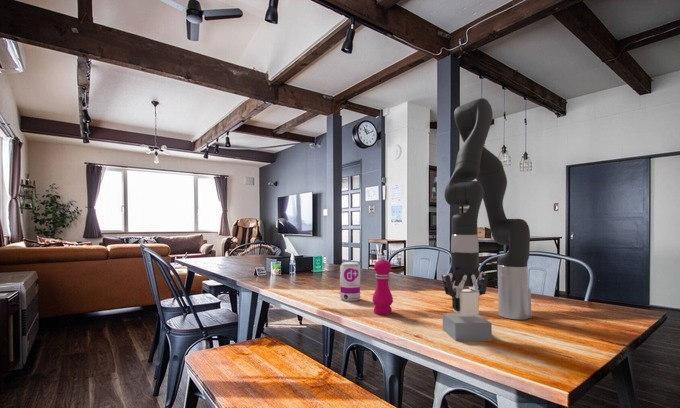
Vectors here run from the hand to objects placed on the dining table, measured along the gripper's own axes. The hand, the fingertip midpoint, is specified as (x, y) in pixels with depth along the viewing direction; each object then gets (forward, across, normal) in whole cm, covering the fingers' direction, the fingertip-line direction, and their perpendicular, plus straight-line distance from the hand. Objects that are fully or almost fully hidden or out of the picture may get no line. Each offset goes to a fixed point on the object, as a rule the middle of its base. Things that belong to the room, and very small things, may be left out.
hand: (465, 310), depth 99 cm
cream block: (+1, 0, 0) cm, 1 cm away
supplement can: (+7, +21, -51) cm, 56 cm away
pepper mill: (+7, +15, -28) cm, 33 cm away
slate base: (+7, 0, 0) cm, 7 cm away
